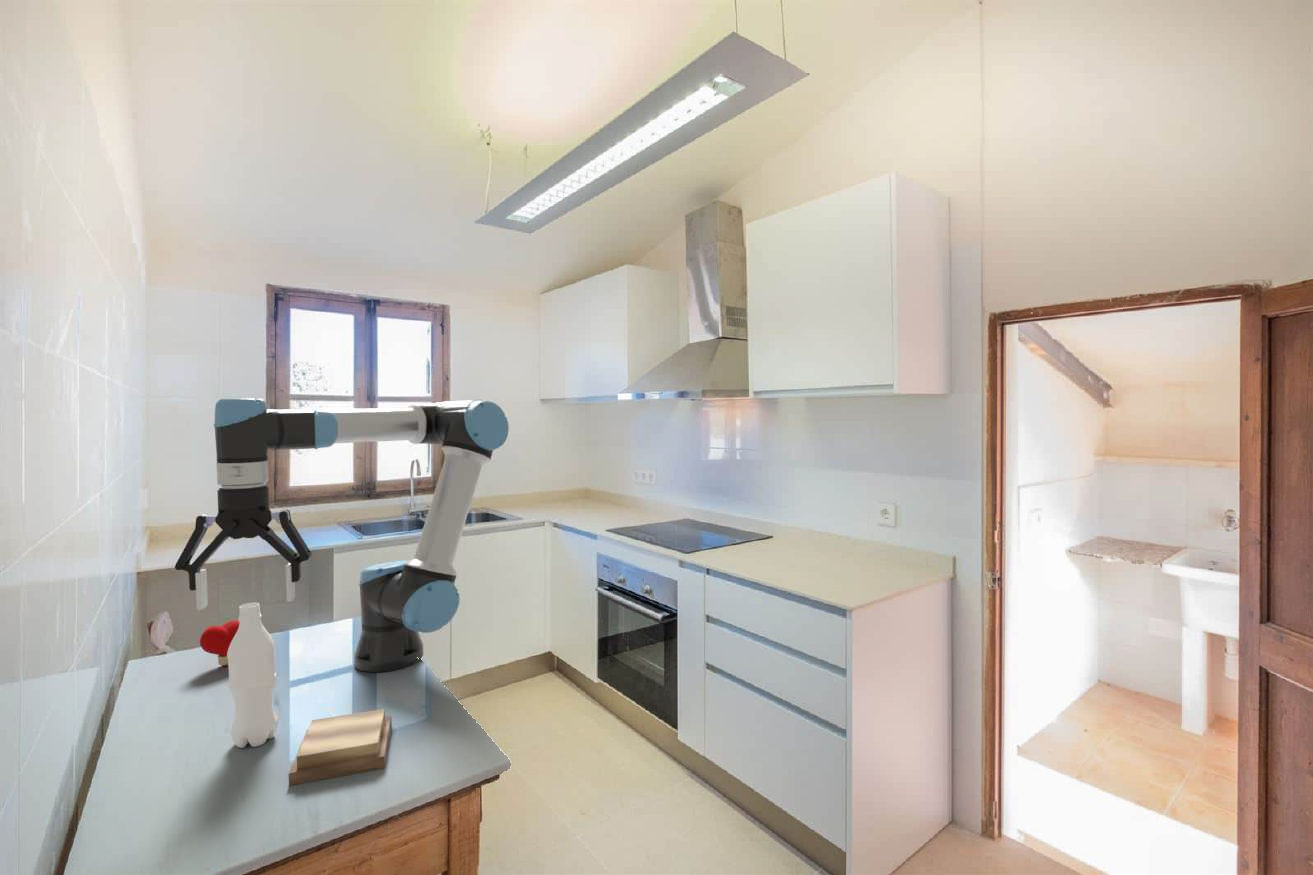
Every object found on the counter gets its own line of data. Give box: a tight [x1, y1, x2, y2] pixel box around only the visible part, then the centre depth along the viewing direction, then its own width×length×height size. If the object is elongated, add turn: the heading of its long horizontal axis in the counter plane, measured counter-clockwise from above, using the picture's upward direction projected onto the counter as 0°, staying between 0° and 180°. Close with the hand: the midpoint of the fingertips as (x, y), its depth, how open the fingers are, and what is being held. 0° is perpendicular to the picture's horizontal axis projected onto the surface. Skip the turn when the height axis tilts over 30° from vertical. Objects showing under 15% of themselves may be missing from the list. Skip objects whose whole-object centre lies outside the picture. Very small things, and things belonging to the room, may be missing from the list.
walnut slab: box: [288, 715, 393, 786], centre depth 105 cm, size 14×14×2 cm
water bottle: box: [227, 602, 279, 749], centre depth 109 cm, size 7×7×25 cm
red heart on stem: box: [199, 620, 240, 667], centre depth 141 cm, size 9×7×10 cm
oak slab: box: [296, 708, 386, 769], centre depth 105 cm, size 12×12×2 cm
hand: (247, 603), depth 108 cm, fingers open, 13 cm apart
